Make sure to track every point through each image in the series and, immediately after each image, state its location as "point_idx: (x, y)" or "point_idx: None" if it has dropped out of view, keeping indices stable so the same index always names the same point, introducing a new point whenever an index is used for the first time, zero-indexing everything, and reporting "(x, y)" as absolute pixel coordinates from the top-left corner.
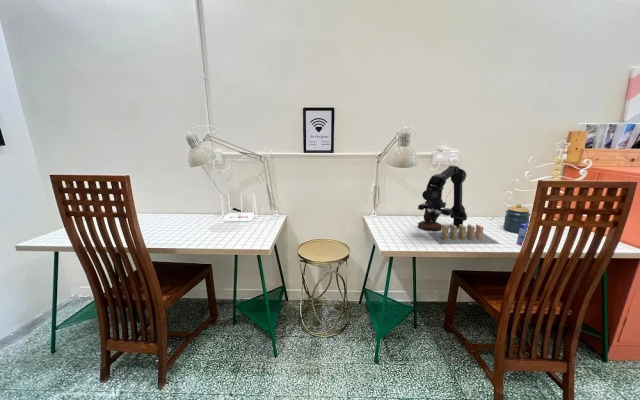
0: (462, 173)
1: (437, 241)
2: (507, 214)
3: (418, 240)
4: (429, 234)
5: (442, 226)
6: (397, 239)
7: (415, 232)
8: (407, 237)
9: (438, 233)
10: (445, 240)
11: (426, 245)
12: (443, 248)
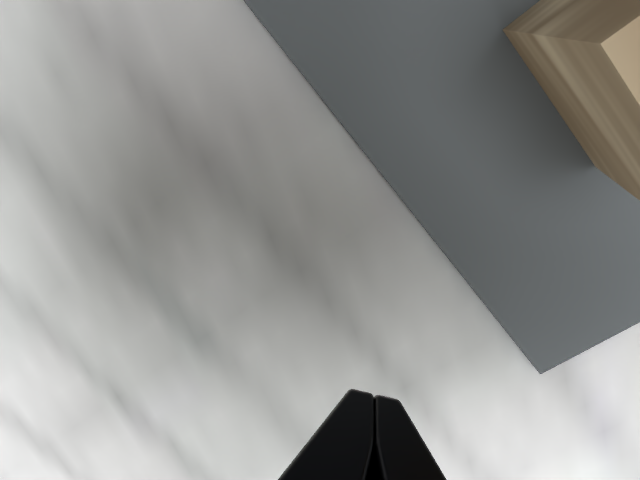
0: None
1: (488, 296)
2: None
3: (228, 372)
4: (259, 19)
5: (596, 70)
6: (20, 468)
7: (6, 44)
8: (60, 346)
9: None
10: None
11: None
12: (611, 464)
